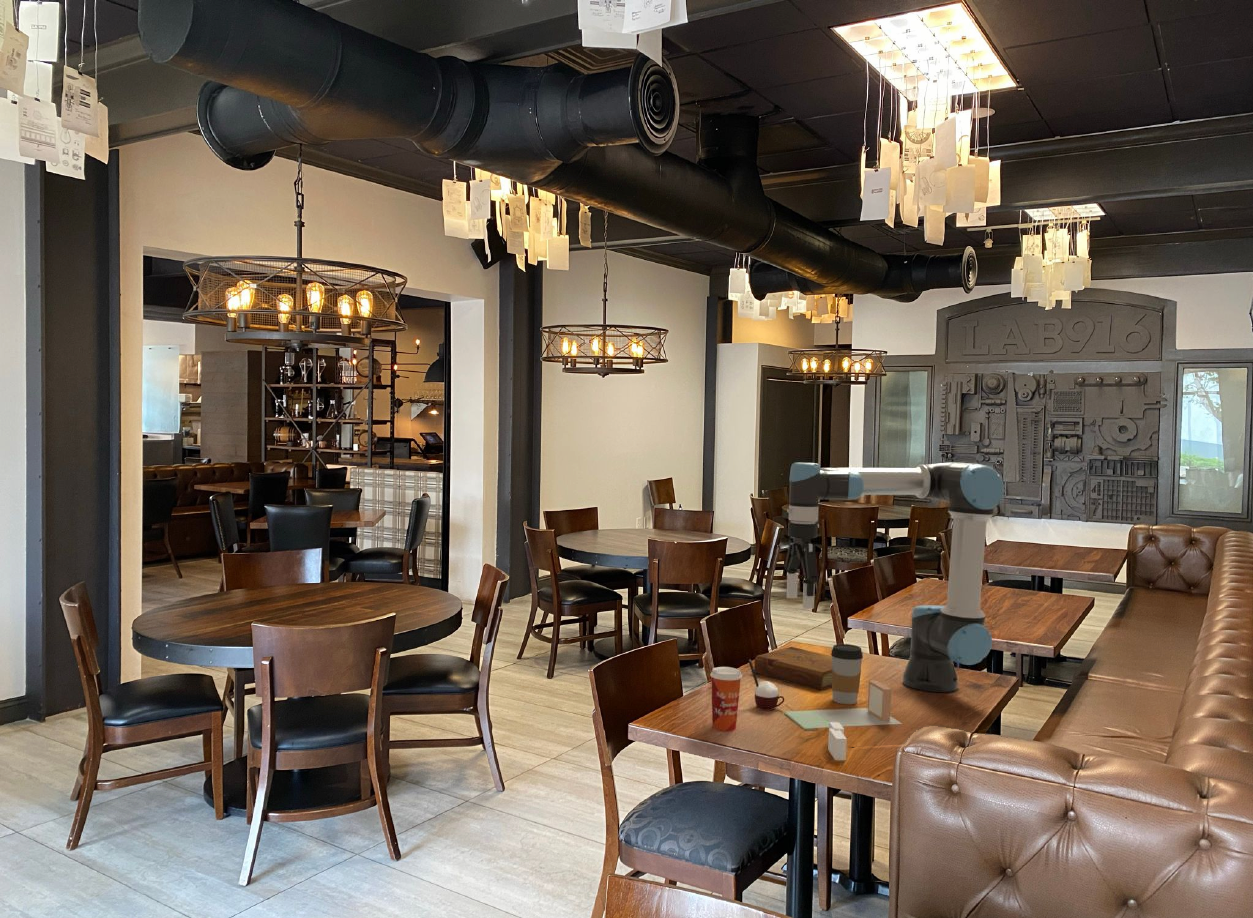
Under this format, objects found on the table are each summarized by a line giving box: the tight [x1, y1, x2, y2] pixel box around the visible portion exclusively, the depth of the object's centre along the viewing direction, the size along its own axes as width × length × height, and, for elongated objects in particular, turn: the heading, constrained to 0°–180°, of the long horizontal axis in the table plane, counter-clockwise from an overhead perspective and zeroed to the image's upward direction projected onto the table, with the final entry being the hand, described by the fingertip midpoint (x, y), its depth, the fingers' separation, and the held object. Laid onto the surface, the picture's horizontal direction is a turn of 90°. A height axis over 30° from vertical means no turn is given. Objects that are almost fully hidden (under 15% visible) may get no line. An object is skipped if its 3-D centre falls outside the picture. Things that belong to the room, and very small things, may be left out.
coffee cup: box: [830, 643, 864, 706], centre depth 256 cm, size 8×8×15 cm
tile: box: [867, 679, 892, 721], centre depth 245 cm, size 2×8×8 cm, turn 13°
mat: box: [783, 707, 903, 731], centre depth 242 cm, size 26×13×1 cm, turn 103°
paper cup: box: [710, 666, 743, 732], centre depth 233 cm, size 8×8×14 cm
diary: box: [753, 646, 832, 692], centre depth 282 cm, size 23×19×6 cm
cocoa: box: [748, 659, 785, 711], centre depth 250 cm, size 10×6×12 cm, turn 55°
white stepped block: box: [827, 722, 848, 761], centre depth 220 cm, size 15×11×6 cm
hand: (799, 603), depth 251 cm, fingers open, 13 cm apart
